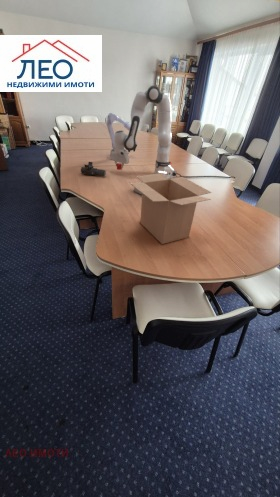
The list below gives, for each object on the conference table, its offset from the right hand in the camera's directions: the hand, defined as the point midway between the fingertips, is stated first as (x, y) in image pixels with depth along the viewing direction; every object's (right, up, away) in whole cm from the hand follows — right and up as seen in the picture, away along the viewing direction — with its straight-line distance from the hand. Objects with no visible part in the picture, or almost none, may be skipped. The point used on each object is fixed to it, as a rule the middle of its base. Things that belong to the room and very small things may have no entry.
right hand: (119, 166), depth 205 cm
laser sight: (-24, -9, -4) cm, 26 cm away
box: (+33, -65, -74) cm, 104 cm away
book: (+28, -30, -27) cm, 49 cm away
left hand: (+10, +35, +47) cm, 60 cm away
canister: (0, -2, +1) cm, 2 cm away
